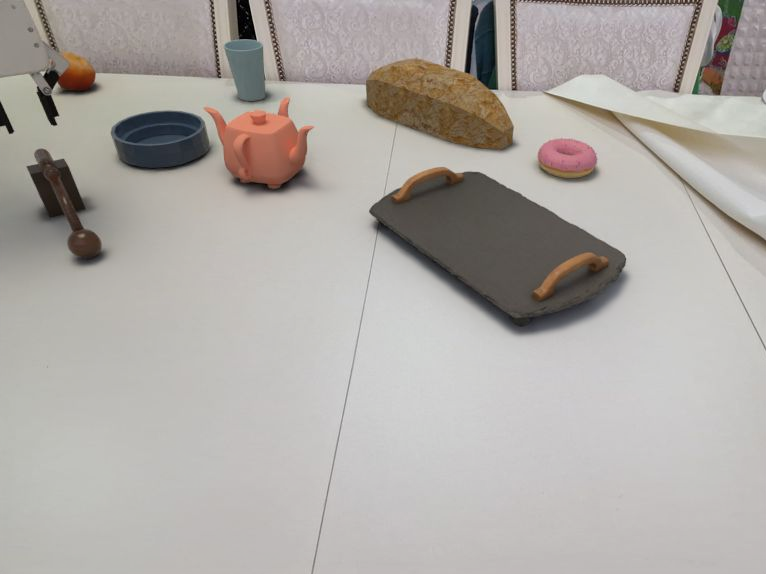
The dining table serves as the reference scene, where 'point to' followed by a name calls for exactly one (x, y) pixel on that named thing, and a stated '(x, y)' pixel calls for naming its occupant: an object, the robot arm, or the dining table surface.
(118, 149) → the bowl
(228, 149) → the teapot
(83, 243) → the brown ball-ended stick
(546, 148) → the doughnut
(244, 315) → the dining table surface
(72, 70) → the fruit
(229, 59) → the cup
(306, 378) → the dining table surface
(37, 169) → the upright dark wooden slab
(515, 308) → the serving tray
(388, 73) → the bread
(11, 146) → the dining table surface
